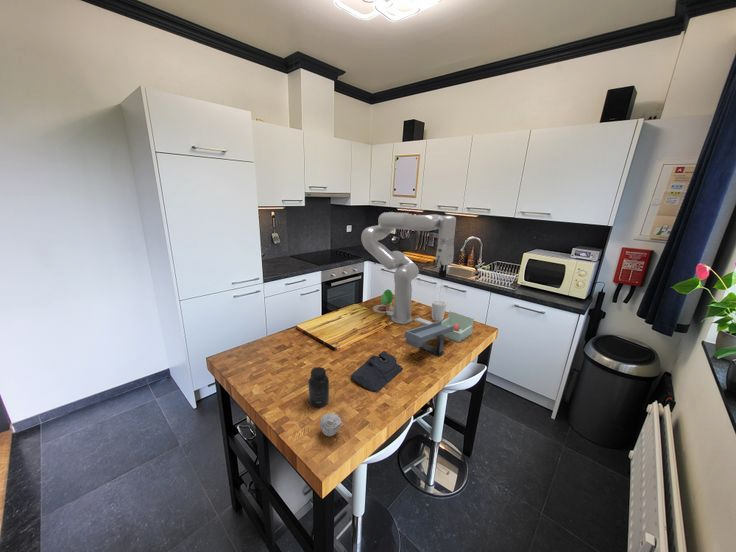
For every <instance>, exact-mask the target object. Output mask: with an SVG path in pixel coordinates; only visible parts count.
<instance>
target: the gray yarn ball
mask: <svg viewBox="0 0 736 552" xmlns="http://www.w3.org/2000/svg"><path fill="white" fill-rule="evenodd" d="M341 424H342V419H341V418H340V416H339V414H338V413H337V414H335V413H326V414H324V415H322V417H321V418H320V422H319V427H320V429H321V431H322V433H323V434H324V435H325V436H327V437H333V436H335V434H337V433H338V430H339V429H340V427H341Z"/></svg>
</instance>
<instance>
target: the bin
mask: <svg viewBox="0 0 736 552" xmlns="http://www.w3.org/2000/svg"><path fill="white" fill-rule="evenodd" d="M474 322H475V318H474V317H471V316H468V315H465V314H462V313H459V312H456V311H452V310H449V312H448V317H447V318H445V319H443V320H442V323H441V325H444V326H446V327H450V326H452V325H453V324H458V325H459V327H460V329H459V331H457V332H456V331H453V332H450V333H448V334H445V335H444V339H448V340H451V341H453V342H455V343H457V344H458V343H459V344H460V343H462V341H464V340H466V339H467V338H468V337H470V336H472V334H473V329H474V328H473V327H474Z"/></svg>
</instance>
